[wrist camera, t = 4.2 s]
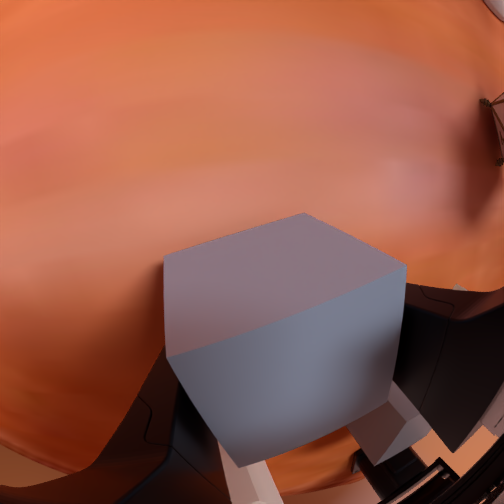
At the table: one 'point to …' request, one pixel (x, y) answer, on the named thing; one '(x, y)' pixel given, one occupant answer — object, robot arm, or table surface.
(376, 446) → the charcoal cube
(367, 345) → the slate blue cube
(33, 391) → the table surface
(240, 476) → the cream cube
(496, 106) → the game die
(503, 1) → the candlestick
